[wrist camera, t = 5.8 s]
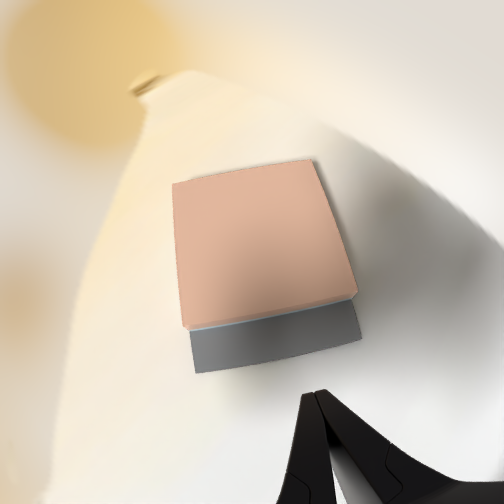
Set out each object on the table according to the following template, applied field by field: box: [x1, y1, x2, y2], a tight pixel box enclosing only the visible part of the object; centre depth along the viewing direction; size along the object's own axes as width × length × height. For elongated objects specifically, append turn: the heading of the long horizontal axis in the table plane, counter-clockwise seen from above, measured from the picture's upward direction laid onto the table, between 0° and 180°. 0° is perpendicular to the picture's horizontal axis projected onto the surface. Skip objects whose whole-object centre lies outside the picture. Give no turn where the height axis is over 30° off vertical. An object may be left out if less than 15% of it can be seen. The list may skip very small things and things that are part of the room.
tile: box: [172, 159, 358, 331], centre depth 19 cm, size 2×10×10 cm
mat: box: [190, 299, 362, 373], centre depth 19 cm, size 13×10×1 cm
